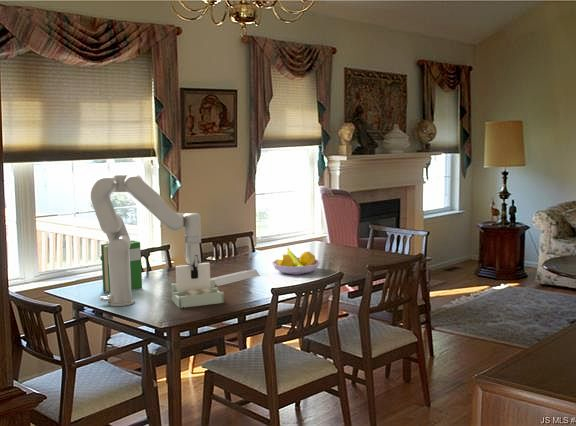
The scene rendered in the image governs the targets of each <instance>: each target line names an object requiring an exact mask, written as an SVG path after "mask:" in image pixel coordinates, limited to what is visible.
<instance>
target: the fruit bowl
mask: <svg viewBox="0 0 576 426" xmlns="http://www.w3.org/2000/svg"><path fill="white" fill-rule="evenodd" d="M286 249H287V253H286V254H284V253H283V254H282V255H281V256H279V257H278V258H277V259H275V260H274V261H271V264H272V265H273V268H274V269H275V270H277V271H278V272H281V273H283V274H287V275H295V276H298V274H299V275H305V274H309V273H311V272H313V271H315V270H317V269H318V267H319V266H320V263H321V261H320V260H318V259H316V256H315V255H314V254H313V253H312V252H310V251H304V252H303V253H301V255H300V256H299V257H297V256H296V255H295V254H294V253H293V252H292V251H291V250H290V248H289V247H288V248H286ZM304 273H305V274H304Z"/></svg>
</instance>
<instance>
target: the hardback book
mask: <svg viewBox="0 0 576 426" xmlns="http://www.w3.org/2000/svg"><path fill="white" fill-rule="evenodd" d="M130 241H131V246H130V249H129V256H130V271H131V291H136V290H140V289H141V290H142V289H143V281H142V279H143V277H142V256H141V254H142V253H141V242H140V241H138V240H130ZM108 244H109V243H103V244H100V252H101V270H102V271H101V272H102V290H103V291H106V292H108V294H109V293H110V273H109V259H108Z"/></svg>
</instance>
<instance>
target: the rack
mask: <svg viewBox="0 0 576 426" xmlns="http://www.w3.org/2000/svg"><path fill="white" fill-rule="evenodd" d="M210 282H211V288H210V290H212V293H207V294H198V295H189V296H186V295H185V291H182V292H177V287H176V282H175V283H171V284H170V287H171V289H170V290H171V302H172V303H174V304H175V305H176V307H178V308H179V309H182V308H183V307H184V308H190V307H200V306H207V305H215V304H224V303H225V300H224V299H225V292H224V291H220V290H219V288H218V287H216V285H215V280H214V279H213V280H210Z"/></svg>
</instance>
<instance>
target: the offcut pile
mask: <svg viewBox="0 0 576 426" xmlns="http://www.w3.org/2000/svg"><path fill="white" fill-rule="evenodd" d="M207 293H212V290H210V289H208V288H205V289H198V290H190V291H185V295H186V296H189V295H198V294H207Z"/></svg>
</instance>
